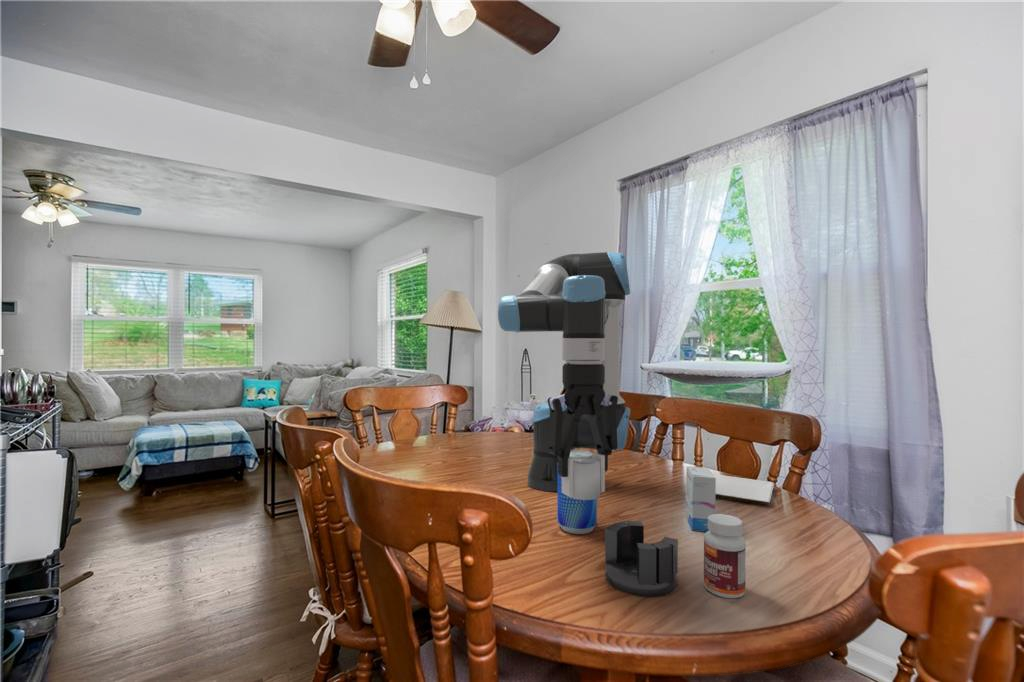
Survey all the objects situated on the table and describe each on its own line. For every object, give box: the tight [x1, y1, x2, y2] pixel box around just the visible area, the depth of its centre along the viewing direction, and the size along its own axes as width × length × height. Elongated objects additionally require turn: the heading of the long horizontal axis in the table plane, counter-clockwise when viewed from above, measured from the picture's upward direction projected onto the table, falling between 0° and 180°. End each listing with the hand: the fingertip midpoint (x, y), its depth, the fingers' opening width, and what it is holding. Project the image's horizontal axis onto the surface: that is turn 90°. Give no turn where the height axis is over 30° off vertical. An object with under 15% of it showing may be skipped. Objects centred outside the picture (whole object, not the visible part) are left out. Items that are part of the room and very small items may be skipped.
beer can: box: [556, 449, 598, 535], centre depth 102 cm, size 8×8×16 cm
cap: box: [568, 456, 601, 500], centre depth 84 cm, size 6×6×6 cm
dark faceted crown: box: [604, 520, 679, 598], centre depth 80 cm, size 12×12×8 cm
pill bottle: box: [703, 513, 746, 599], centre depth 76 cm, size 6×6×11 cm
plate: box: [712, 473, 775, 505], centre depth 127 cm, size 19×19×2 cm
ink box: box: [684, 465, 716, 532], centre depth 104 cm, size 9×5×12 cm, turn 168°
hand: (583, 491), depth 84 cm, fingers closed on cap, 6 cm apart
